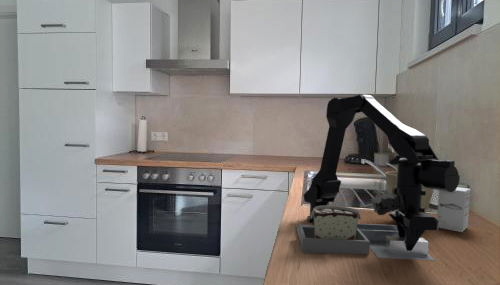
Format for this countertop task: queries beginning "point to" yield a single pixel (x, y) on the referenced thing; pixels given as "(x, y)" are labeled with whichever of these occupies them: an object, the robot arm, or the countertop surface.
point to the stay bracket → (378, 232)
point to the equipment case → (331, 242)
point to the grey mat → (383, 253)
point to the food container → (335, 222)
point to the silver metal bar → (399, 246)
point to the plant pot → (392, 182)
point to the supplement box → (453, 209)
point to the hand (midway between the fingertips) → (406, 247)
